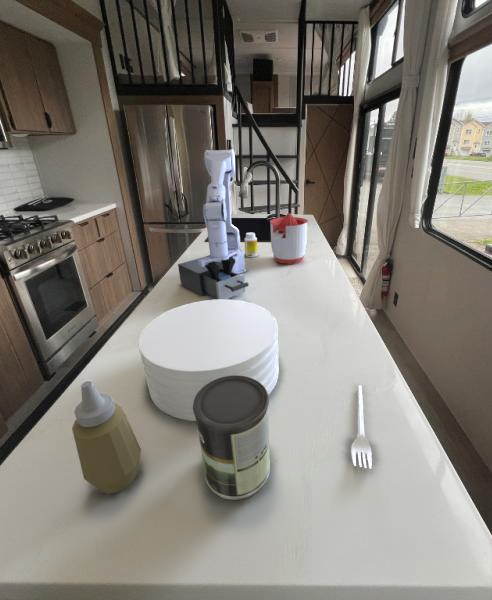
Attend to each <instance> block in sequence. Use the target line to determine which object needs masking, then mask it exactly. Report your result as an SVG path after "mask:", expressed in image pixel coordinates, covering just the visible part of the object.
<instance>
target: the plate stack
mask: <svg viewBox="0 0 492 600" xmlns="http://www.w3.org/2000/svg"><path fill="white" fill-rule="evenodd" d="M278 335H279V326H278V321H277V320H276V317H275V316H274V315H273V314H272V312H270V311H269V310H267V309H266V308H264V307H262V306H260V305H258V304H255V303H252V302H248V301H246V300H245V301H244V300H238V299H230V298H229V299H217V298H216V299H206V300H199V301H194V302H188V303H186V304H182V305H179V306H176V307H173V308H170V309H169V310H167V311H164V312H162V313H161V314H159V315H157V316H156V317H154V318H153V319H151V321H149V322H148V323H147V324H146V325H145V327H143V329H142V330H141V332H140V334H139V336H138V339H137V340H138V341H137V347H138V351H139V354H140V359H141V364H142V366H143V372H144V375H145V380H146V385H147V388H148V392H149V395H150V396H149V397H150V398H151V401H152V402H153V404H154V405H155V406H156V407H157V408H158V409H159V410H161V412H163V413H165V414H167V415H169V416H170V417H173V418H176V419H180V420H183V421H187V422H188V421H189V422H196V418H195V415H194V411H193V402H194V399H195V397H196V395H197V393H198V392H199V391H200V390H201V389H202V388H203V387H204V386H205V385H206V384H208V383H210V382H211V381H213V380H215V379H218V378H221V377H226V376H234V375H238V376H246V377H249V378H252V379H255V380H256V381H258V382H260V383H261V384H262V385H263V386H264V387H265V389H266V391H267V393H268V396H270V394H271V393H272V392H273V390H274V389H275V387H276V385H277V382H278V379H279V373H280V372H279V369H280V368H279V336H278Z"/></svg>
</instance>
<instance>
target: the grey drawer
mask: <svg viewBox="0 0 492 600" xmlns="http://www.w3.org/2000/svg"><path fill="white" fill-rule="evenodd" d="M221 272H222V273H224V270H223V268H222V269H219V273H221ZM201 279H202V287H203V291H204V292H206V293H208V294H207V295H211V296H212V297H214V298H216V299H229V300H230V299H231V298H233V297H236V296H239V295H241V294H244V293H246V288H248V287H249V282H247V281H245V274H244V273H239V274H237V273H234V272H231V278H228V279H225V280H222V281H219V282H217V281H216V280H214V279H212V277H211V275H210V273H206V274H203V275H201Z"/></svg>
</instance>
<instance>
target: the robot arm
mask: <svg viewBox="0 0 492 600" xmlns="http://www.w3.org/2000/svg"><path fill="white" fill-rule="evenodd" d="M235 156H236V155H235V151H234V149H220V150H219V149H218V150H217V149H215V150H208V149H206V150H205V151H204V154H203V157H204V165H205V168H206V171H207V173H208V175H209V177H210V179H211V180H210V183H209V184H208V185H207V188H206V197H205V198H206V200H205V203H204V204H203V206H202V215H203V219H204V224H205V228H206V230H207V231H206V232H207V239H208V249H209V255H206V256H203V257H204V258H202V257H201V258H202V259H199V258H198V259H199V260H198V263H199V266H201V267H204V266H205V267H206V268H207V269H208V271H209V273H210V275H211V277H212V279H214V280H216V281H217V282H219V266H218V265H216V263H215V262H218V261H219V262H221V263H222V265H223V270H224V273H225V274H227V275H230V276H231V272H234V273H237V274H238V275H240V274H243V273H245V272H247V270H246V267H245V266H246V265H245V254H244V252H243V250H242V249H241V235H240V230H239V228H238V227H236V226H234V224H232V223H233V222H232V209H231V208H232V207H231V206H232V205H231V190H230V189H231V188H230V187H231V186H230V184H231V178H233V177H234V176H236V157H235Z"/></svg>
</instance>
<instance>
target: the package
mask: <svg viewBox="0 0 492 600" xmlns="http://www.w3.org/2000/svg"><path fill="white" fill-rule="evenodd" d="M228 278H231V276H230V275H227V274H225V273H222V272H221V273H219V281H222V280H225V279H228Z"/></svg>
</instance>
